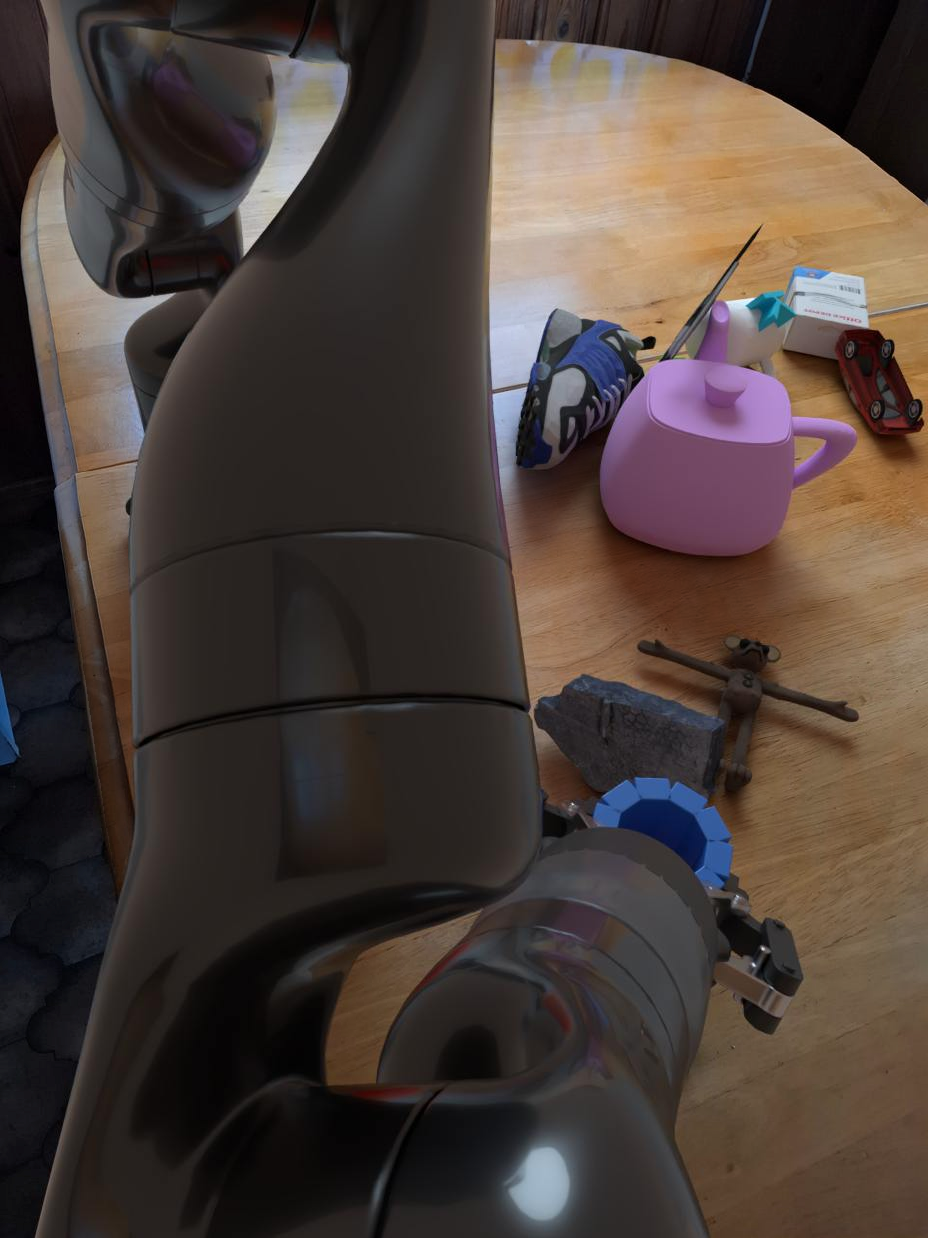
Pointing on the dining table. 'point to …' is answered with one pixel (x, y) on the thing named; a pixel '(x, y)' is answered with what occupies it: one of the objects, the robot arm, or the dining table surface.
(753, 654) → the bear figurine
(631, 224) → the dining table surface
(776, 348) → the mug
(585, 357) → the athletic shoe
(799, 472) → the teapot
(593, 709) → the stone
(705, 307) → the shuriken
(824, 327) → the ink box
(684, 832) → the blue notched tube
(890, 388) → the toy car
